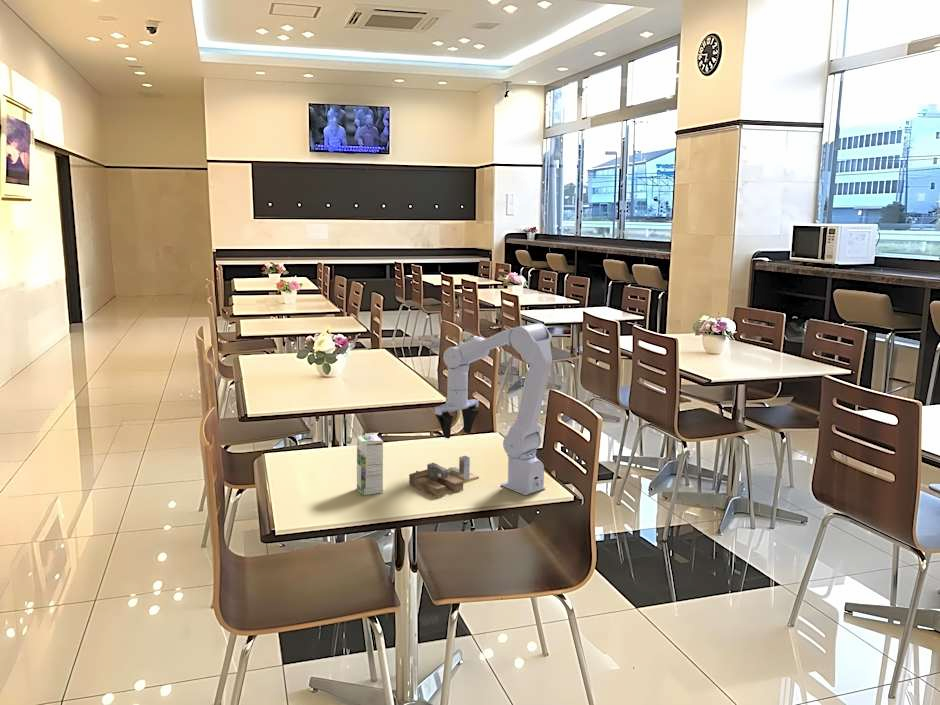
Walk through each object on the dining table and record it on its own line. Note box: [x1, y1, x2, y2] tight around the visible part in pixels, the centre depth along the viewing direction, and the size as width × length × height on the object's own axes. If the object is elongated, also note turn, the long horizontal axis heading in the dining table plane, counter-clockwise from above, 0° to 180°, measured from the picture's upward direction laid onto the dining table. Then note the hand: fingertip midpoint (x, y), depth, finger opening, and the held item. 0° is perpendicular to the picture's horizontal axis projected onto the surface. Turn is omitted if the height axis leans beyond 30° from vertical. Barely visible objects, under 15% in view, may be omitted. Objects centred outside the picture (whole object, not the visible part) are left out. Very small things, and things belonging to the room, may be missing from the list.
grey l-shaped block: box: [447, 455, 471, 480], centre depth 212 cm, size 7×2×6 cm, turn 41°
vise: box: [408, 462, 464, 499], centre depth 206 cm, size 14×9×6 cm, turn 41°
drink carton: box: [356, 434, 384, 496], centre depth 201 cm, size 6×6×14 cm
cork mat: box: [448, 466, 480, 484], centre depth 214 cm, size 10×8×1 cm
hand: (457, 435), depth 219 cm, fingers open, 7 cm apart
